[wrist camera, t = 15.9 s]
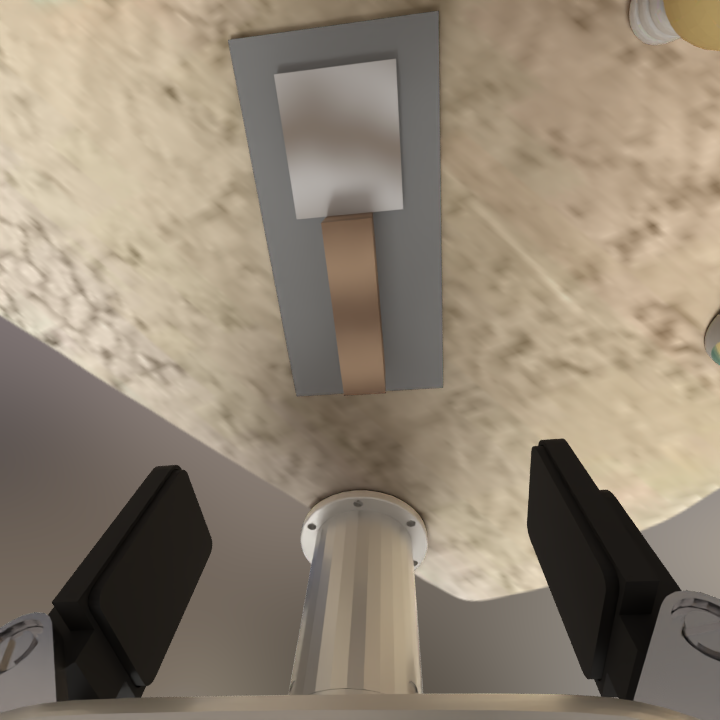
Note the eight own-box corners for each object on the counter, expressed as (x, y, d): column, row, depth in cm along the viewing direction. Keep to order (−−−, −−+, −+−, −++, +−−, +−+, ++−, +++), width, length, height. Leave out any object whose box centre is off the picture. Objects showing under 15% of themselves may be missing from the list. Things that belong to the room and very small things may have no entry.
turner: (410, 368, 33) (413, 391, 30) (323, 373, 33) (316, 397, 30) (395, 61, 24) (397, 47, 21) (277, 76, 25) (261, 65, 21)
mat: (442, 384, 34) (443, 387, 33) (297, 393, 35) (296, 396, 34) (437, 13, 23) (438, 10, 23) (230, 42, 24) (228, 39, 24)
